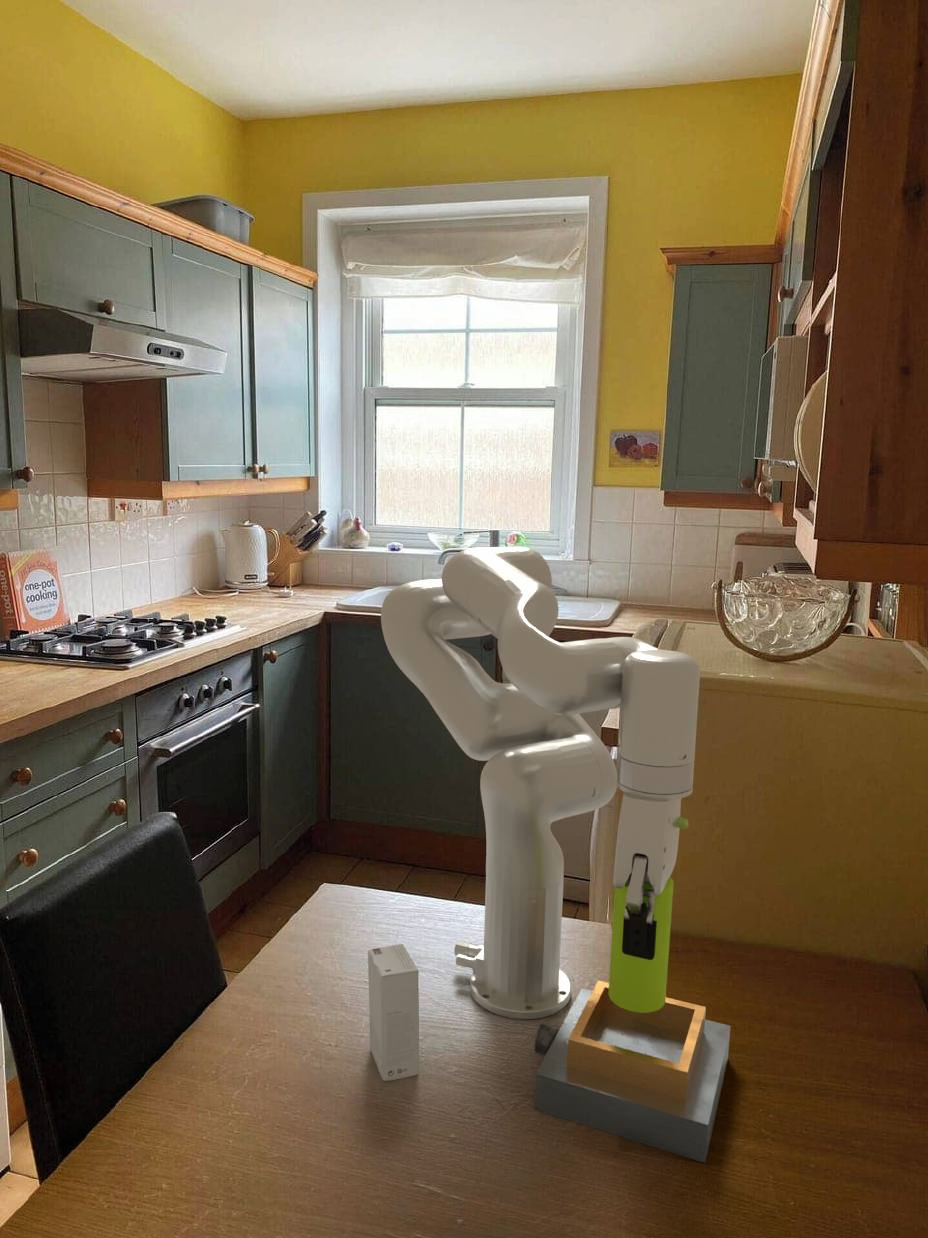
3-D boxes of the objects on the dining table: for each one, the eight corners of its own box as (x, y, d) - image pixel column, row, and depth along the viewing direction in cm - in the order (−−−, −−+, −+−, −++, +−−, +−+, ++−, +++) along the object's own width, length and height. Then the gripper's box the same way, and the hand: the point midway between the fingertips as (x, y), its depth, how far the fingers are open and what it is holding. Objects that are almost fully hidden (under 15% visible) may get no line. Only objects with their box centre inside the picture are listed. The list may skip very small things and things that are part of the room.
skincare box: (420, 1075, 95) (423, 970, 93) (380, 1084, 94) (381, 977, 92) (404, 1041, 101) (406, 941, 99) (366, 1049, 99) (367, 948, 98)
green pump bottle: (676, 1018, 90) (690, 829, 87) (607, 1008, 91) (618, 821, 88) (674, 987, 96) (687, 808, 93) (609, 978, 97) (620, 801, 94)
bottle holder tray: (511, 1102, 91) (514, 1040, 90) (560, 1014, 107) (563, 960, 106) (705, 1163, 84) (710, 1096, 83) (727, 1058, 99) (732, 1001, 98)
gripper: (636, 746, 99) (628, 899, 102) (596, 793, 83) (587, 973, 86) (705, 755, 96) (695, 912, 99) (677, 807, 80) (665, 992, 83)
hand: (645, 939), depth 92 cm, fingers closed on green pump bottle, 5 cm apart
